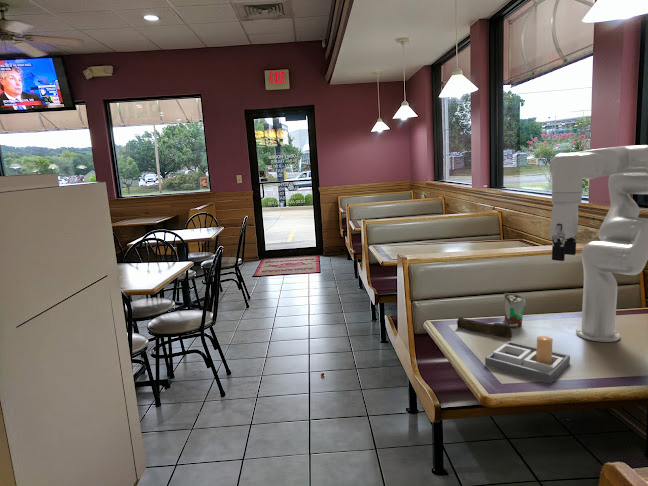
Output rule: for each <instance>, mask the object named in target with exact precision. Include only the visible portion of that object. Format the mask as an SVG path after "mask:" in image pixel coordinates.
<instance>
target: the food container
mask: <svg viewBox="0 0 648 486" xmlns="http://www.w3.org/2000/svg"><path fill="white" fill-rule="evenodd" d="M526 305H527V302H526V299H525V297H524V296H523V295H520V294H518V293H512V292H504V321H505V324H506V325H508V326H509V327H510V329H519V328H520V327H522V325H523V317H524V307H525V306H526Z"/></svg>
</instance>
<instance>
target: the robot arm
mask: <svg viewBox="0 0 648 486" xmlns="http://www.w3.org/2000/svg"><path fill="white" fill-rule="evenodd" d="M549 172H550V175H551V176H552V181H551V182H552V183H551V184H552V185H551V186H552V187H551V204H552V208H551V216H550V225H549V238H550V239H552V240H551V242H552V243H551V246H552V249H551V251H552V252H551V260H552V261H558V262H564V261H565V257H566V255H570V256H575V255H576V254H577V253H576V251H577V235H578V231H579V205H581V204H582V194H583V180H593V179H596V178H598V177H606V176H607V177H608V176H609V177H608V181H607V182H608V186H607V187H608V194H609V200H610V208H609V209H608V211H607V214H606V215H605V217H604V219H603V222H602V223H601V225H600V227H599V230H598V238H599V240H592V241H590V242H588V243H586V244H585V245H584V246H583V247H582V250H581V261H582V266H583V267H582V269H583V290H582V291H583V292H582V307H581V309H582V311H581V326H578V327H576V328H575V334H576V335H577V336H579V337H580V338H582V339H585V340H589V341H594V342H599V343H613V342H617V341H619V340H620V339H621V334H620V332H618V331H617V330H616V320H617V319H616V317H617V300H618V288H619V287H618V283H617V280H616V277H614V274H621V275H625V276H626V275H629V276H637V275H639V274H640V273H641V272H643V270H644V269H645V267H646V264H647V262H648V217H647V218H645V217H644V218H643V217H639V216H640V207H639V205H638V204H637V202H636V201H635V199H633V198H632V197H631V195H648V144H641V145H640V144H639V145H638V144H637V145H621V146H612V147H603V148H596V149H595V148H594V149H588V150H582V151H571V152H565V153H563V152H562V153H558V154H556V155H554V156H553V157H552V158H551V160H550V163H549ZM613 273H614V274H613Z"/></svg>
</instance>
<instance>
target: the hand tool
mask: <svg viewBox="0 0 648 486" xmlns="http://www.w3.org/2000/svg"><path fill="white" fill-rule="evenodd" d="M456 326H457V328H458V329H461V330H463V329H465V330H471V331H475V332H476V331H477V332H479V333H480V332H481V333H486V334H490V335H493V337H497V338H504V339H512V338H513V332H512V328H510V327H509V326H508V325H507V323H500V322H494V323H487V322H482V321H476V320H474V319H467V318H464V317H458V318H457V320H456Z"/></svg>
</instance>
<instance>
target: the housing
mask: <svg viewBox="0 0 648 486" xmlns="http://www.w3.org/2000/svg"><path fill="white" fill-rule="evenodd" d="M536 350H537V346H536V347H535V346H531V345H526V344H522V343H518V342H515V341H510V340H508V341H507V342H505V343H504V344H502V345H501V346H500V347H497V349H495V350H494V351H492V352H491V353H490V354H488V355H487V356H485V357H484V360H485V361H484V363H485V364H484V366H485V367H489V368H492V369H496V370H499V371H503V372H506V373H510V374H514V375H518V376H521V377H525V378H528V379H531V380H535V381H539V382H543V383H546V384H551V383H552V382H553V381H554V380H555V379H556V378H557V377H558V376H559V375H560V374H561V373H562V372H563V371H564V370H565V369H566V368H568V366H569V365H570V364H571V355H570V354H565V353H561V352H557V351H553V350H552V365H548V364H544V363H540V362H536Z"/></svg>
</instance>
